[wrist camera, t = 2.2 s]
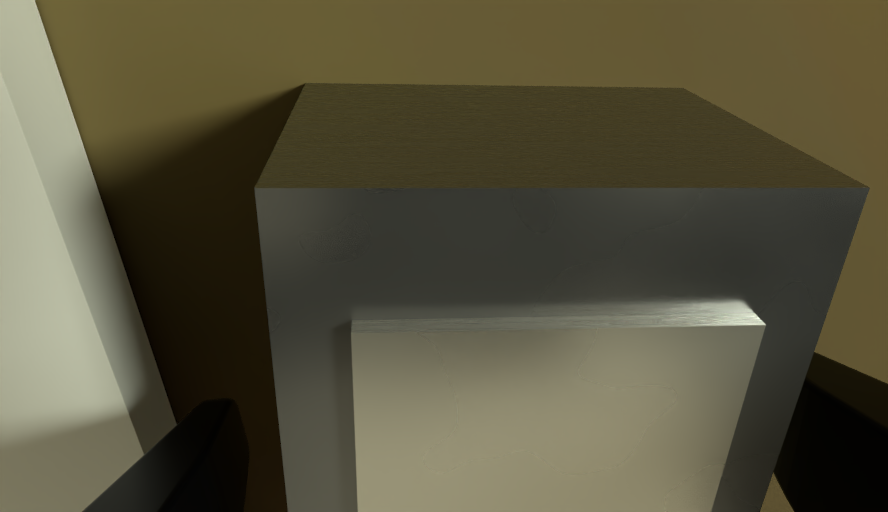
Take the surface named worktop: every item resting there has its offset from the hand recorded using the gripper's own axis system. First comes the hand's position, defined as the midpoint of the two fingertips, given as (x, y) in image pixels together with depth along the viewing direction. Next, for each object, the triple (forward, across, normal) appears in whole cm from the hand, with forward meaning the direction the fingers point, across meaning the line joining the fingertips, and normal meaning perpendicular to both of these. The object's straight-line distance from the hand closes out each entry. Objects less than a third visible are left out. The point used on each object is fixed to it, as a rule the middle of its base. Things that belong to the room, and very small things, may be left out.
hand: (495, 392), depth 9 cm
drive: (+2, 0, 0) cm, 2 cm away
